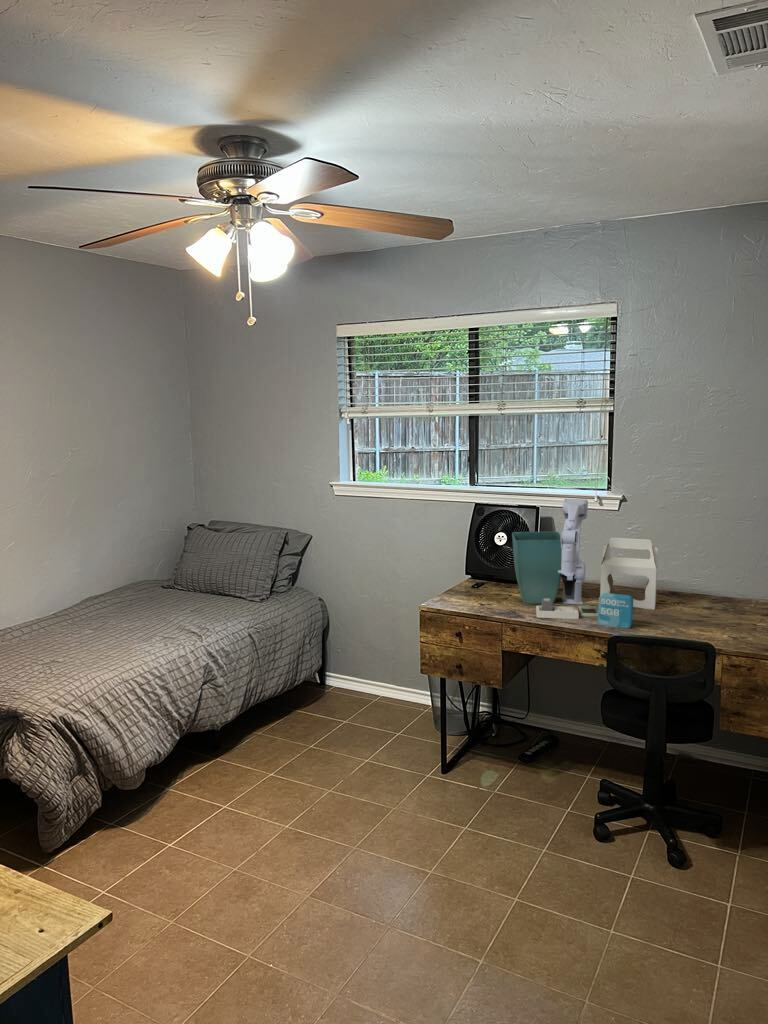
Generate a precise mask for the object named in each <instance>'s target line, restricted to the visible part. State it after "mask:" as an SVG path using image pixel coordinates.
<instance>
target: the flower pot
mask: <svg viewBox="0 0 768 1024" xmlns="http://www.w3.org/2000/svg"><path fill="white" fill-rule="evenodd" d="M560 537H561V533H559V531H514V532H511V539H512V552H513V553H512V554H513V563H514V571H515V577H516V581H517V584H518V585H517V586H518V588H519V592H520V595H521V599H522V603H523V604H542V599H544V598H548V599H552V604H554V603H555V601H556V598H557V595H558V592H559V587H560V583H561V581H562V579H561V575H560V574H561V573H558V570H561V555H562V549H561V540H560Z"/></svg>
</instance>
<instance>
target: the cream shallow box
mask: <svg viewBox="0 0 768 1024" xmlns="http://www.w3.org/2000/svg"><path fill="white" fill-rule="evenodd" d="M579 613H580V611H579V608H578V606H559V605H558V606H557V605H552V611H541V605H536V606H535V614H536V618H537V619H538V618H540V619H542V618H543V619H544V618H545V619H546V618H547V619H570V620H571V619H572V620H573V619H575V620H579V618H580V617H579V616H580V615H579Z"/></svg>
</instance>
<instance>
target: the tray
mask: <svg viewBox="0 0 768 1024" xmlns="http://www.w3.org/2000/svg"><path fill="white" fill-rule="evenodd" d="M577 608H578V612H579V613H580V616H581V617H598V611H599V605H598V606H595V605H578V606H577ZM584 609H585V610H595V612H596V613H594V612H583V610H584Z"/></svg>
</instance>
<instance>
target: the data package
mask: <svg viewBox="0 0 768 1024" xmlns="http://www.w3.org/2000/svg"><path fill="white" fill-rule="evenodd" d="M598 606H599V611H598V616H597V617H598V618H597V619H598V620H597V622H598V624H599V625H601V626H606V627H615V628H621V629H625V630H627V629H630V628H631V627H632V625H633V619H634V618H633V617H634V607H633V598H632V597H631V596H629V595H620V594H611V593H603V594H602V595H601V596H600V595H599V598H598Z"/></svg>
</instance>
